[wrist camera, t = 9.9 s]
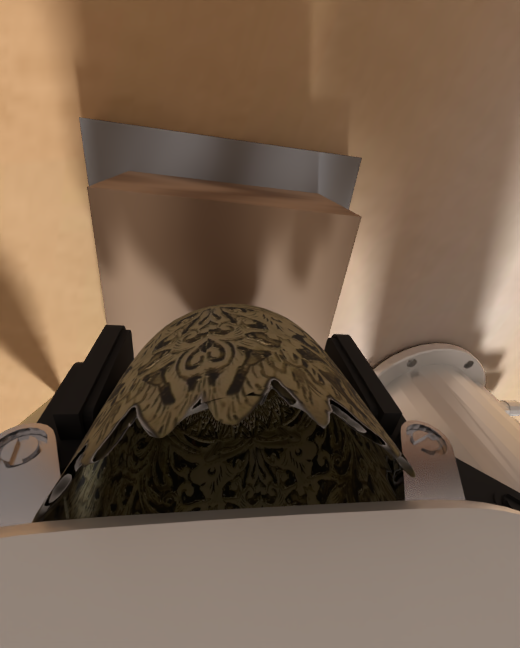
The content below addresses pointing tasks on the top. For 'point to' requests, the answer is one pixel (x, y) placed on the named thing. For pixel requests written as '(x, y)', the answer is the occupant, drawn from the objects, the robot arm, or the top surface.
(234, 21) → the top surface
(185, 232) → the brown block on base
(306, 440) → the cup
